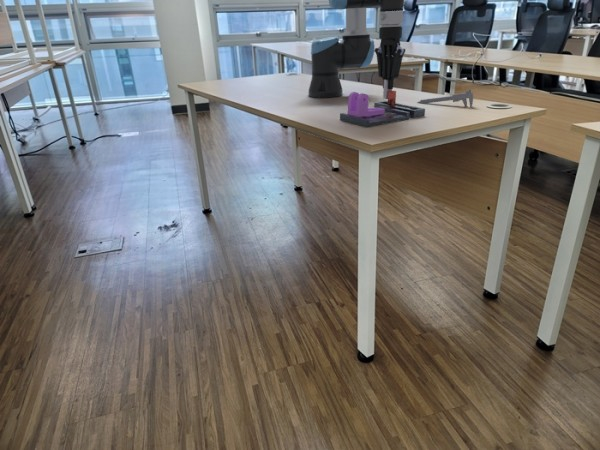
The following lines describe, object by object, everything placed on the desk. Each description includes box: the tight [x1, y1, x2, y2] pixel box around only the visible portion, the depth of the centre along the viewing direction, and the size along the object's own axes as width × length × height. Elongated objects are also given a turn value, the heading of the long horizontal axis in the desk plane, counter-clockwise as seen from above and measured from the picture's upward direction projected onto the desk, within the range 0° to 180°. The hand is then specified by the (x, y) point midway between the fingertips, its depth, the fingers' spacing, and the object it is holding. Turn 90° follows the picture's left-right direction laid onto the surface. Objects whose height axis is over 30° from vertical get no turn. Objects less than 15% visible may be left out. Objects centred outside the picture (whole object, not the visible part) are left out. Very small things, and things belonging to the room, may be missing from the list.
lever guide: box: [373, 100, 426, 119], centre depth 148 cm, size 20×5×2 cm, turn 31°
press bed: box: [339, 106, 410, 128], centre depth 140 cm, size 14×18×2 cm
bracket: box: [346, 91, 385, 117], centre depth 139 cm, size 13×6×7 cm, turn 124°
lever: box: [387, 90, 410, 109], centre depth 147 cm, size 10×3×6 cm, turn 31°
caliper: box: [416, 89, 474, 108], centre depth 157 cm, size 20×1×6 cm, turn 55°
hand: (387, 98), depth 151 cm, fingers closed
